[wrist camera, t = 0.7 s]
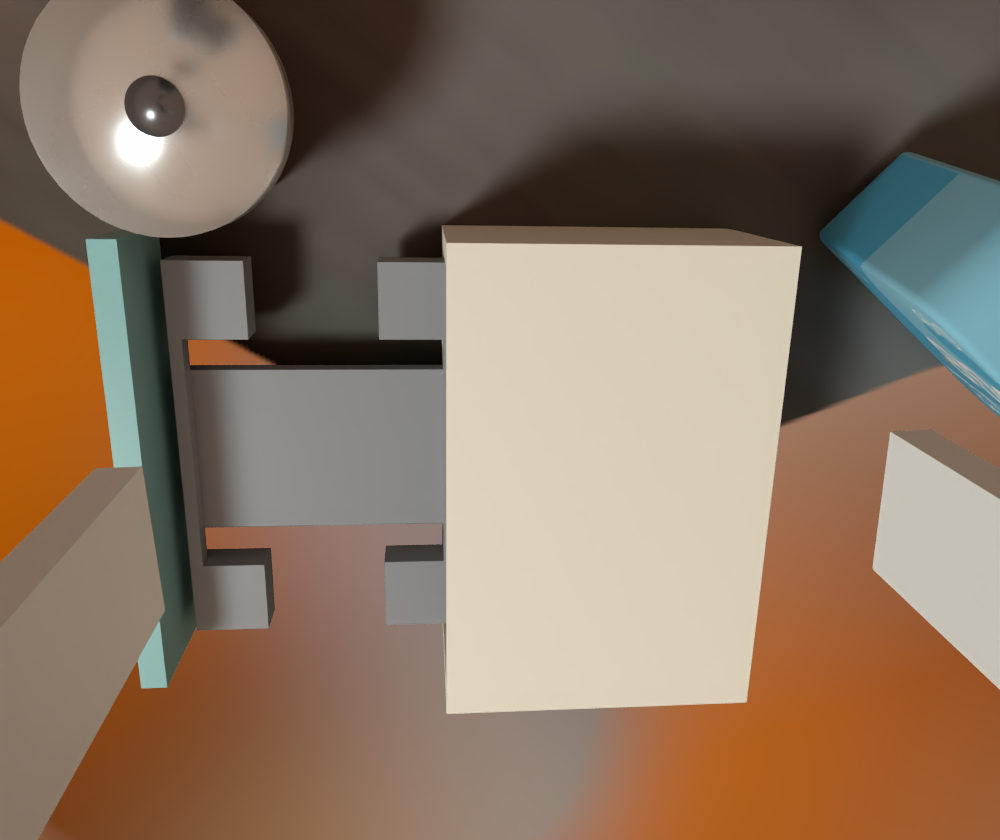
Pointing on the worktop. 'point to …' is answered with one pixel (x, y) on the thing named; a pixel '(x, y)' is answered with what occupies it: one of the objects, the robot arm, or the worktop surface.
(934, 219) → the data package
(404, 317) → the teal grey flat block
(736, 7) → the worktop surface
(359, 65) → the worktop surface
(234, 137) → the disc
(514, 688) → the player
